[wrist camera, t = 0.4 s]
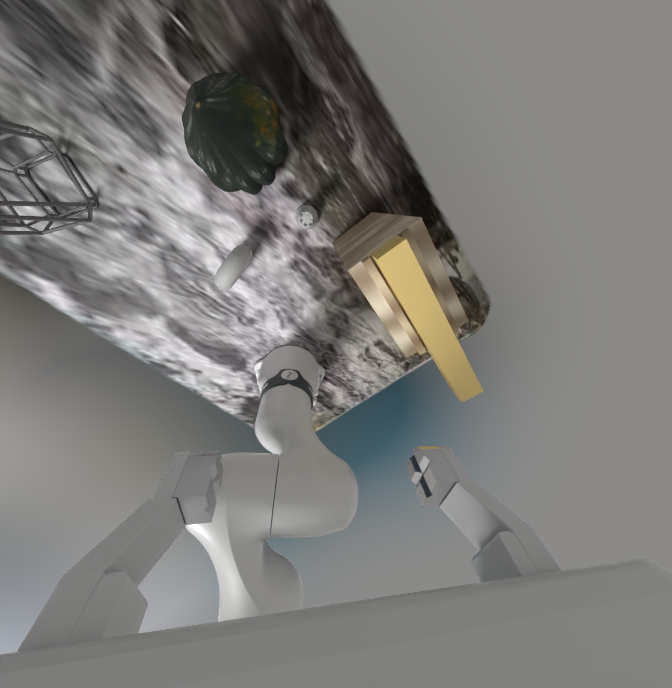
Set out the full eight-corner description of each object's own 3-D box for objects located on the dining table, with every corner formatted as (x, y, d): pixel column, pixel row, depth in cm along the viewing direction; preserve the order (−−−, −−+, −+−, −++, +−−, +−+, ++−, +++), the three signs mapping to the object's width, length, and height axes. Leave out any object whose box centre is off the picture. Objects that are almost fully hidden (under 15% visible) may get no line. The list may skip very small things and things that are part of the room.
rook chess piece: (320, 226, 51) (321, 229, 44) (299, 231, 51) (297, 235, 44) (314, 202, 49) (315, 201, 42) (292, 207, 49) (289, 207, 42)
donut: (234, 285, 55) (220, 300, 46) (220, 275, 54) (203, 288, 45) (260, 249, 52) (250, 258, 43) (245, 237, 51) (232, 244, 42)
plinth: (406, 275, 58) (472, 324, 34) (370, 300, 60) (408, 361, 36) (371, 212, 50) (424, 217, 27) (332, 242, 53) (349, 272, 29)
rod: (470, 377, 40) (483, 391, 37) (450, 388, 41) (461, 402, 38) (396, 235, 28) (406, 238, 25) (370, 253, 29) (377, 259, 26)
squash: (301, 199, 44) (269, 101, 29) (221, 221, 45) (151, 137, 30) (288, 136, 47) (253, 19, 32) (213, 158, 48) (146, 54, 33)
